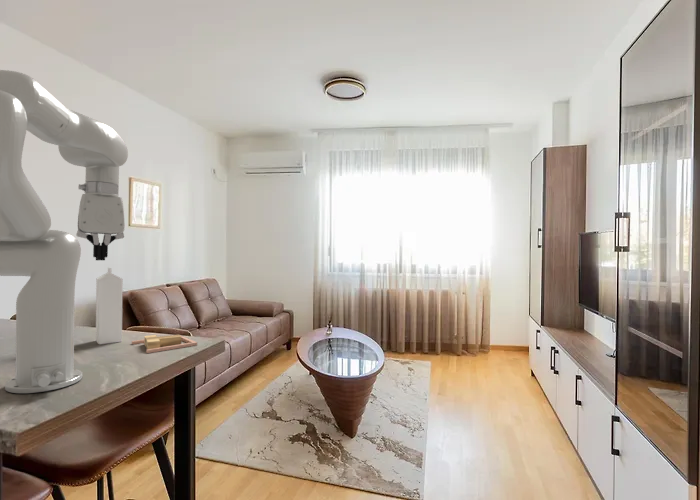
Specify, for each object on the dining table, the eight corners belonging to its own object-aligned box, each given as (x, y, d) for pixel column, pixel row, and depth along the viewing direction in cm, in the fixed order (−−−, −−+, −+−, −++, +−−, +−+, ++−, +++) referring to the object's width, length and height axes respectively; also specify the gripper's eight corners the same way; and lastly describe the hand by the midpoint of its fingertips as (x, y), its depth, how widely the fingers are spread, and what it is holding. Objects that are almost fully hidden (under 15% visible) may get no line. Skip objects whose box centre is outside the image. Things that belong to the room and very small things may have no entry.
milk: (98, 344, 114) (98, 268, 114) (95, 340, 119) (95, 267, 119) (122, 341, 118) (122, 268, 118) (118, 337, 123) (119, 267, 122)
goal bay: (197, 345, 115) (197, 342, 115) (147, 353, 105) (147, 350, 105) (178, 337, 125) (178, 334, 125) (131, 343, 115) (131, 341, 115)
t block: (183, 347, 112) (183, 338, 112) (147, 351, 108) (147, 342, 108) (177, 340, 120) (177, 332, 120) (144, 344, 115) (144, 335, 115)
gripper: (69, 185, 97) (67, 260, 97) (136, 192, 107) (135, 260, 107) (65, 189, 103) (63, 260, 102) (129, 196, 113) (128, 260, 112)
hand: (100, 260), depth 104 cm, fingers closed
